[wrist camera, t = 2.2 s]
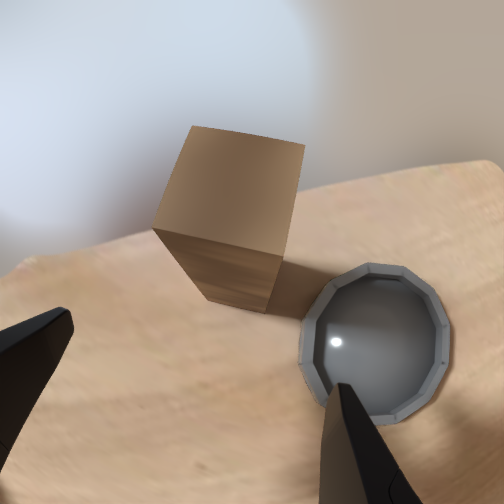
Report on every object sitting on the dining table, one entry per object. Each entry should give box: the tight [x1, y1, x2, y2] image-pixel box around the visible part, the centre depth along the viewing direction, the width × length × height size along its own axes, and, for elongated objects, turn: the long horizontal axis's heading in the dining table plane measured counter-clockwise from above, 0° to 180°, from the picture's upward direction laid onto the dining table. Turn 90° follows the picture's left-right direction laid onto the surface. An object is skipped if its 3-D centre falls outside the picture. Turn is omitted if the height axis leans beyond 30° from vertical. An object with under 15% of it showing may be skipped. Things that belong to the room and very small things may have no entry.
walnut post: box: [152, 126, 305, 314], centre depth 16 cm, size 4×4×13 cm
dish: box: [298, 263, 450, 425], centre depth 20 cm, size 11×11×2 cm
